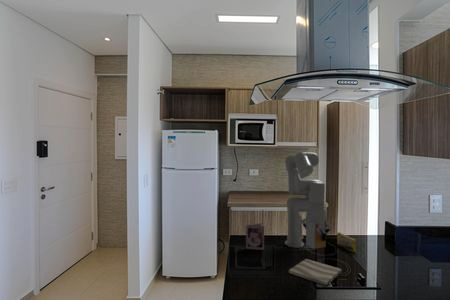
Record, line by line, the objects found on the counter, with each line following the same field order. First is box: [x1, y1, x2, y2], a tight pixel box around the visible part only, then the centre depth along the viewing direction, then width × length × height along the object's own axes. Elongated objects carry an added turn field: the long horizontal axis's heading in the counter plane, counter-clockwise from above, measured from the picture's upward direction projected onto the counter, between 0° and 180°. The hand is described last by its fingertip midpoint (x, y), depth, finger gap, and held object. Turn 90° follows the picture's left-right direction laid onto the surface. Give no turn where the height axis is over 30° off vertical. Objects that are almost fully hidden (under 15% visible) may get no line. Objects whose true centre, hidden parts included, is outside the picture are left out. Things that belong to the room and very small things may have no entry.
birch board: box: [288, 258, 342, 287], centre depth 151 cm, size 20×20×2 cm
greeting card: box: [245, 222, 265, 251], centre depth 185 cm, size 11×7×15 cm, turn 83°
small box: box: [305, 221, 327, 250], centre depth 150 cm, size 8×6×13 cm
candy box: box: [336, 231, 357, 253], centre depth 187 cm, size 16×2×8 cm, turn 15°
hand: (315, 238), depth 150 cm, fingers closed on small box, 7 cm apart
